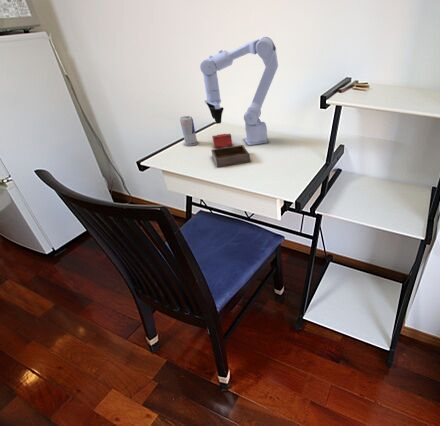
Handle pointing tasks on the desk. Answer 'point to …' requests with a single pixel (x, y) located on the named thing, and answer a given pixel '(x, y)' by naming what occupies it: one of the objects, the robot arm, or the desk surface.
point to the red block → (222, 140)
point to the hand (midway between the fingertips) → (216, 120)
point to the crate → (230, 155)
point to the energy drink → (188, 130)
